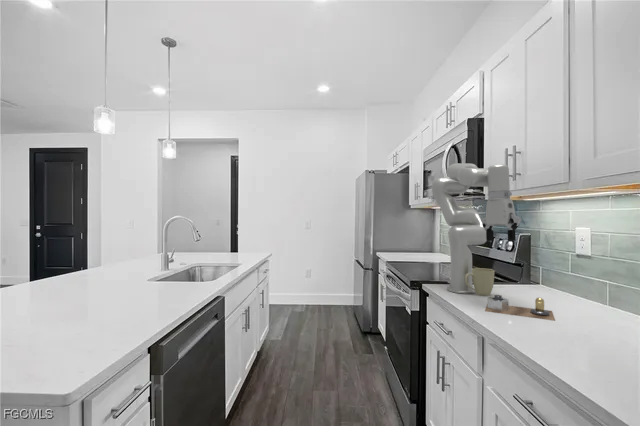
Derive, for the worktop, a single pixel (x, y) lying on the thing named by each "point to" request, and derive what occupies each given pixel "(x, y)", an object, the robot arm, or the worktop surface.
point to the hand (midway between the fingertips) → (500, 240)
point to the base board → (522, 312)
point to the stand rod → (497, 297)
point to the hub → (539, 308)
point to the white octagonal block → (498, 304)
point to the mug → (482, 280)
